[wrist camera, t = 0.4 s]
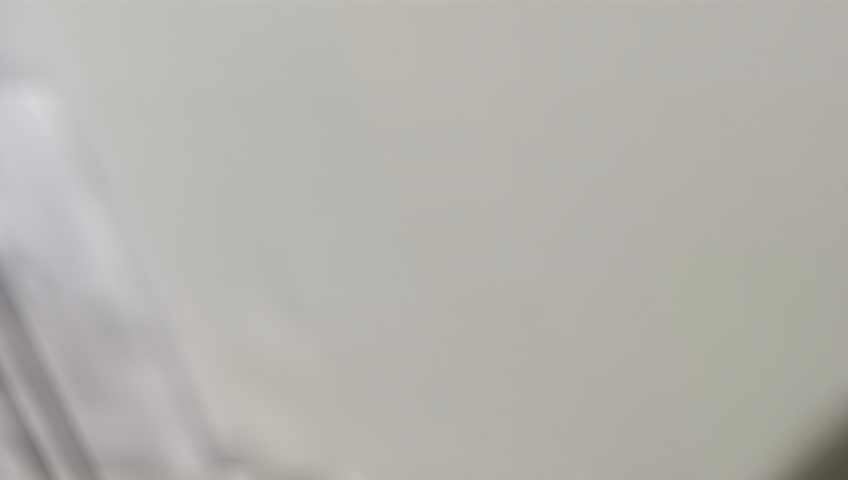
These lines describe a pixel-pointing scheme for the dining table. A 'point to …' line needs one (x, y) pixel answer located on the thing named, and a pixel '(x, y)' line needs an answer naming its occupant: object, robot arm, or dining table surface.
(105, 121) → the dining table surface
